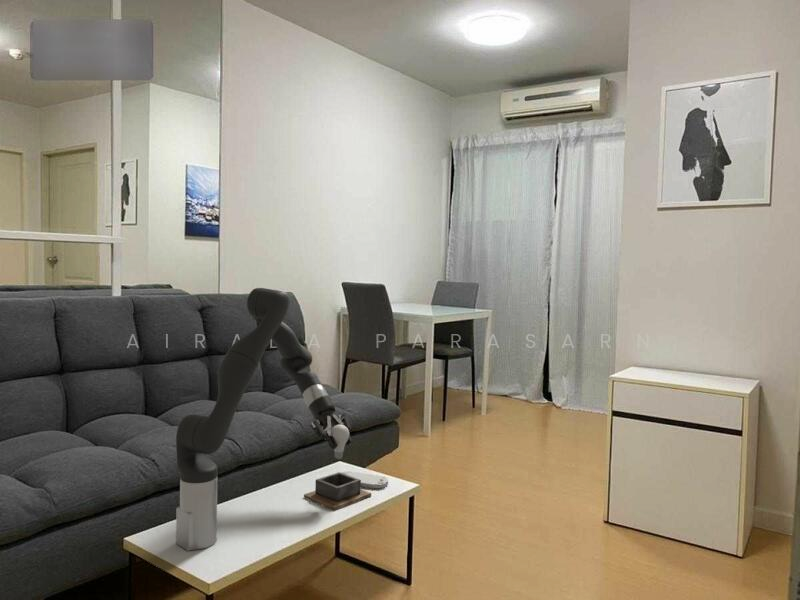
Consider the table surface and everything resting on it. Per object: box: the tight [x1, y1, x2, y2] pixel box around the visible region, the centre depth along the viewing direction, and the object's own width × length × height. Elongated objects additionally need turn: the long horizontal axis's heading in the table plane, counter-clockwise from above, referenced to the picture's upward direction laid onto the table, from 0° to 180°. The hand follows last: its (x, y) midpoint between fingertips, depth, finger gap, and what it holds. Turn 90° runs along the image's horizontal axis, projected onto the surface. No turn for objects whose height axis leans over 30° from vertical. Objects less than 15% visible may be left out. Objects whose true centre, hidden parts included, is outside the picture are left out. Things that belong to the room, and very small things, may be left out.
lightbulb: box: [331, 424, 350, 460], centre depth 192 cm, size 6×6×11 cm
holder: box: [303, 472, 372, 511], centre depth 192 cm, size 16×14×6 cm
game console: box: [340, 470, 389, 490], centre depth 206 cm, size 18×2×8 cm
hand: (342, 445), depth 190 cm, fingers closed on lightbulb, 5 cm apart
